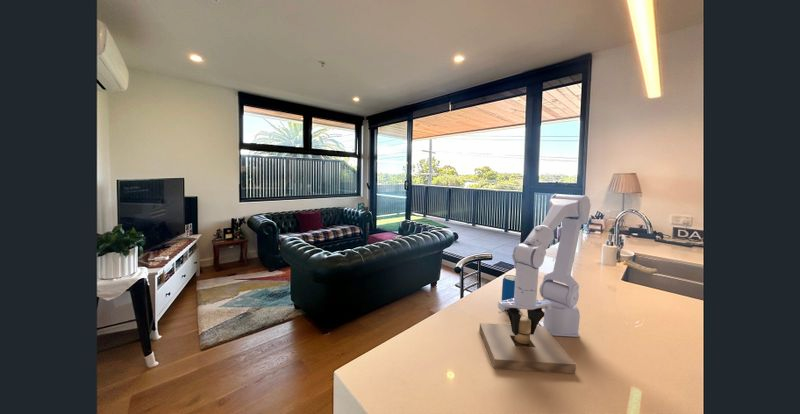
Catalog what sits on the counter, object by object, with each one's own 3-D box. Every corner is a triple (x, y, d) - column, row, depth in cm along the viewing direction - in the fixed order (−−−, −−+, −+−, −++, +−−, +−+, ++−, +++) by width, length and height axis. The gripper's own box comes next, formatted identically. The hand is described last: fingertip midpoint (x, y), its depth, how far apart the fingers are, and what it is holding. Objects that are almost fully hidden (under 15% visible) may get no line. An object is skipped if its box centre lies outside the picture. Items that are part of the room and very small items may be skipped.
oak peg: (525, 335, 82) (526, 315, 81) (532, 343, 78) (534, 323, 77) (511, 335, 81) (513, 316, 81) (518, 344, 77) (520, 323, 77)
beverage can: (521, 313, 101) (523, 281, 100) (502, 311, 103) (504, 279, 101) (517, 305, 108) (519, 275, 107) (499, 303, 109) (501, 273, 108)
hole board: (543, 333, 88) (544, 326, 88) (575, 373, 70) (576, 364, 70) (479, 330, 89) (479, 322, 89) (494, 368, 72) (494, 359, 71)
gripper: (542, 281, 82) (538, 324, 84) (494, 281, 81) (492, 326, 83) (557, 291, 75) (553, 338, 77) (505, 291, 74) (502, 339, 76)
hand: (522, 332), depth 79 cm, fingers closed on oak peg, 4 cm apart
